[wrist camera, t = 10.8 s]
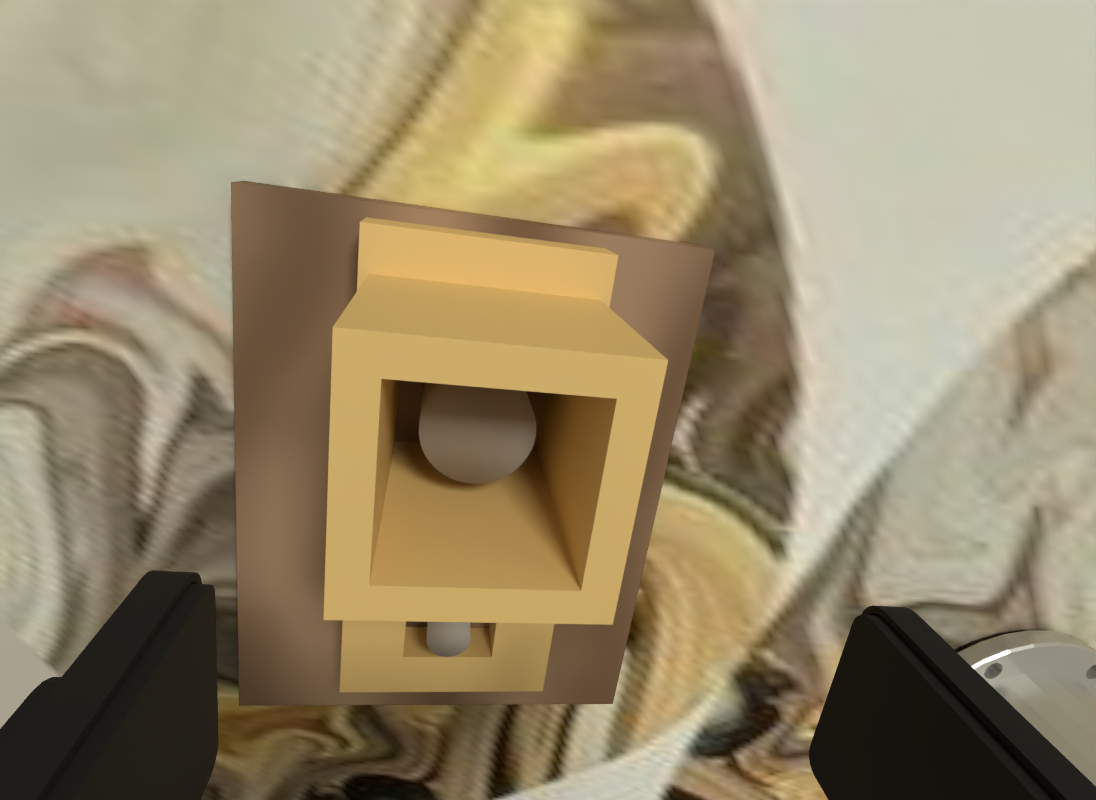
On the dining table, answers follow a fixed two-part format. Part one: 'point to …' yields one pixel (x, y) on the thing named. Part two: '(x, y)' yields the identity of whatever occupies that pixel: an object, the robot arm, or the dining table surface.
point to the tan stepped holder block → (487, 508)
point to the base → (403, 435)
